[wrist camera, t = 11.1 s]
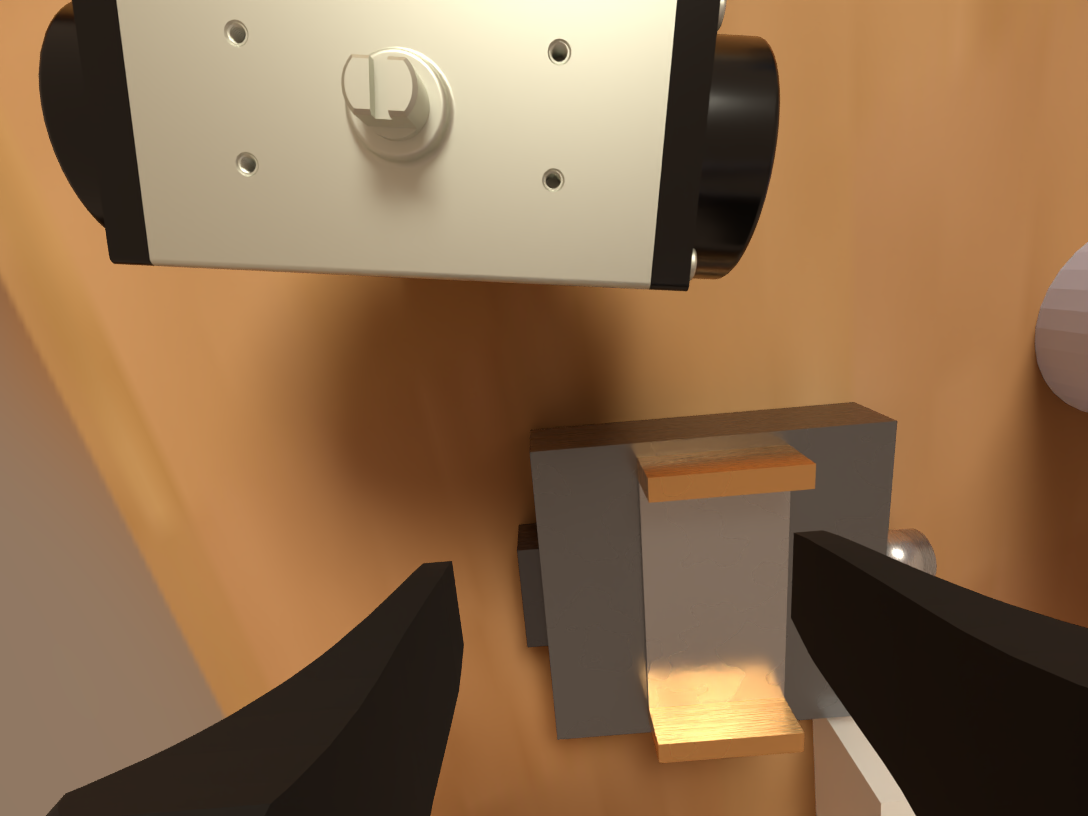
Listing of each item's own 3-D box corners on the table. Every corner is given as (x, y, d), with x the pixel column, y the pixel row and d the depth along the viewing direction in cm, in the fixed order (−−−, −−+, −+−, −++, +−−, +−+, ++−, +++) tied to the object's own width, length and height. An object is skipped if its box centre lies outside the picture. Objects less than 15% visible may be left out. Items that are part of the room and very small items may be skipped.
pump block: (892, 681, 24) (984, 789, 19) (891, 807, 25) (974, 935, 21) (810, 693, 24) (880, 803, 19) (815, 817, 26) (880, 947, 21)
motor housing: (908, 397, 20) (1004, 432, 16) (885, 663, 23) (961, 750, 19) (508, 431, 20) (502, 474, 16) (536, 691, 23) (536, 784, 19)
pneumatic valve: (646, 278, 19) (815, 300, 7) (305, 262, 19) (-67, 258, 7) (662, 102, 18) (901, -207, 6) (294, 81, 17) (-188, -284, 6)
